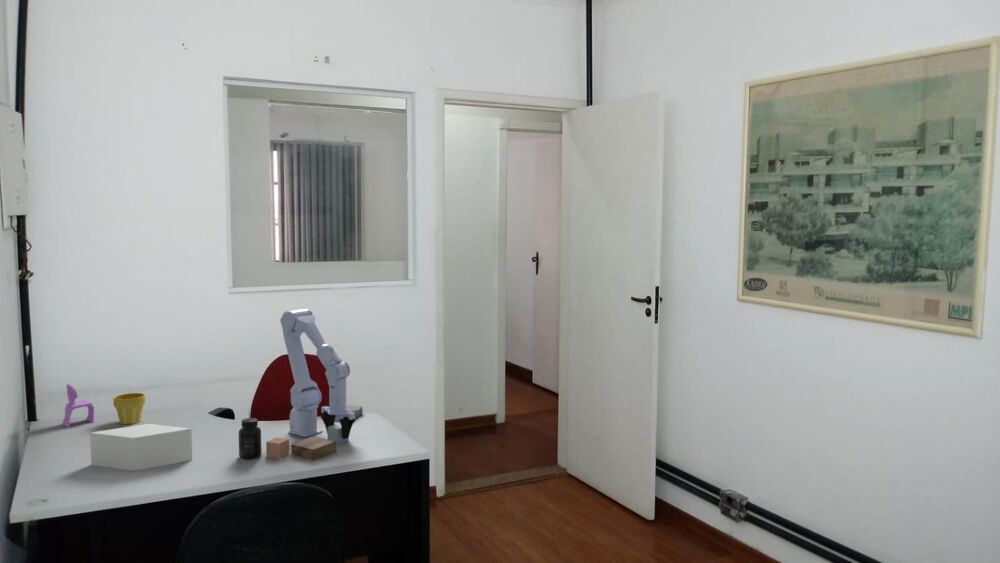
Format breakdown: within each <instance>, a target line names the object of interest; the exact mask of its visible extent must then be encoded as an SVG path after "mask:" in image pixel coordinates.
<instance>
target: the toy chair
mask: <svg viewBox="0 0 1000 563" xmlns="http://www.w3.org/2000/svg"><path fill="white" fill-rule="evenodd" d="M66 394H67V400H68V402H67V403H66V406H65V408H64V418H63V420H62V421H63V422H62V424H61V425H63V426H65V427H67V428H70V425H71V424H70V423H71V422H70V421H71V416H72V413H73V410H77V409H79V408H84V407H85V408H86V407H87V411H88V413H87V417H86V419H85V420H86V421H88V422H90V423H93V424H94V421H95V420H94V418H95V415H94V414H95V407H94V405H93V402H90V401H88V400H87V399H84V400H79V401H75V400H77V398H78V394H77V390H76V388H75V387H74V386H73V385H72V384H69V383H67V384H66ZM78 399H79V398H78Z"/></svg>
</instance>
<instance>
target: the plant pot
mask: <svg viewBox="0 0 1000 563" xmlns="http://www.w3.org/2000/svg"><path fill="white" fill-rule="evenodd" d="M112 400H113V402H112V403H113V407H114V408H115V409H116V412H117V416H118V417H117V418H118V419H119V423H120V424H122V425H133V424H137V423H139V422H141V420H142V415H143V409H144V405H145V404H146V394H145V393H143V392H128V393H122V394H118V395H115V396H114V397H113V398H112Z"/></svg>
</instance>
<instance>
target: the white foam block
mask: <svg viewBox="0 0 1000 563" xmlns="http://www.w3.org/2000/svg"><path fill="white" fill-rule="evenodd" d="M89 436H90V437H89V439H90V459H91V460H90V465H91V466H98V467H105V468H114V469H120V470H126V471H133V472H136V471H141V470H145V469H150V468H156V467H157V468H158V467H162V466H166V465H173V464H178V463H183V462H188V461H192V460H193V443H192V442H193V441H192V428H189V427H188V428H187V427H179V426H170V425H162V424H154V423H145V424H138V425H132V426H126V427H119V428H113V429H105V430H98V431H93V432H92V431H91V432H90V433H89Z"/></svg>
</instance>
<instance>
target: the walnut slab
mask: <svg viewBox="0 0 1000 563" xmlns="http://www.w3.org/2000/svg"><path fill="white" fill-rule="evenodd" d="M336 453H337V443H336V441H333V440H329V439H328V438H325V437H320V436H316V435H312V436H311V437H310V436H309V437H307V438H305V439H302V440H299V441H295V442H294V443H291V456H294V457H297V458H298V457H299V458H301V459H305V460H308V461H311V462H315V461H318V460H319V459H322V458H325V457H328V456H332V455H333V454H336Z"/></svg>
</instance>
